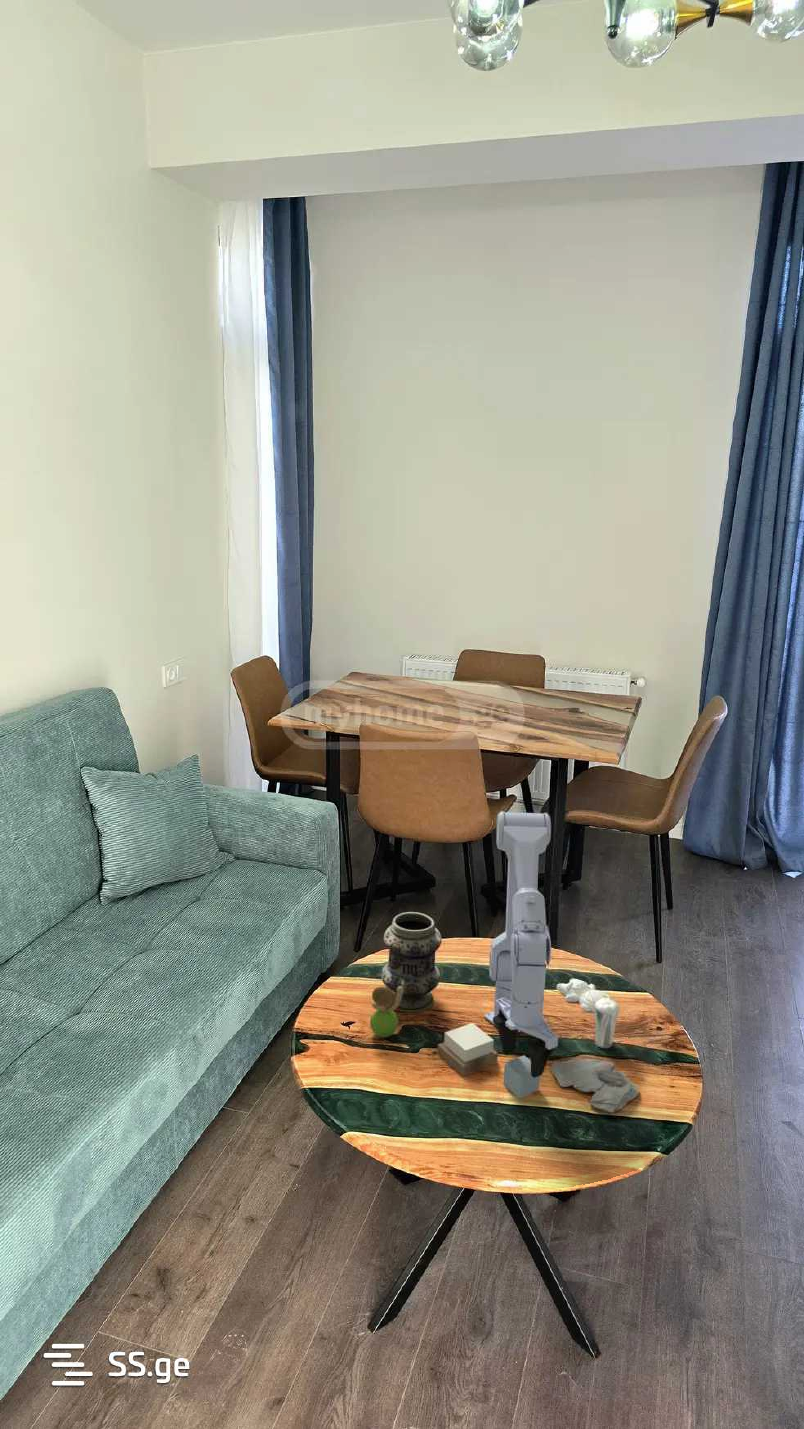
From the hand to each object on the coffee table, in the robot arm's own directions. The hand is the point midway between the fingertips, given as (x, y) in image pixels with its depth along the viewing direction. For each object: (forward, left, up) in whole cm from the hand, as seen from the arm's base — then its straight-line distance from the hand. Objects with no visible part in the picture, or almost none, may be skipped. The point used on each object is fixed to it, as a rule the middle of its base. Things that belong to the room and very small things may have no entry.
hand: (522, 1064), depth 169 cm
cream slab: (+3, -12, -3) cm, 13 cm away
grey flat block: (+3, -12, -5) cm, 14 cm away
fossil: (-11, +6, -6) cm, 14 cm away
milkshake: (-22, -2, -5) cm, 23 cm away
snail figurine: (+12, -26, -5) cm, 29 cm away
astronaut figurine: (-31, -16, -5) cm, 35 cm away
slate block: (0, 0, -5) cm, 5 cm away
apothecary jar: (+1, -34, -5) cm, 34 cm away
